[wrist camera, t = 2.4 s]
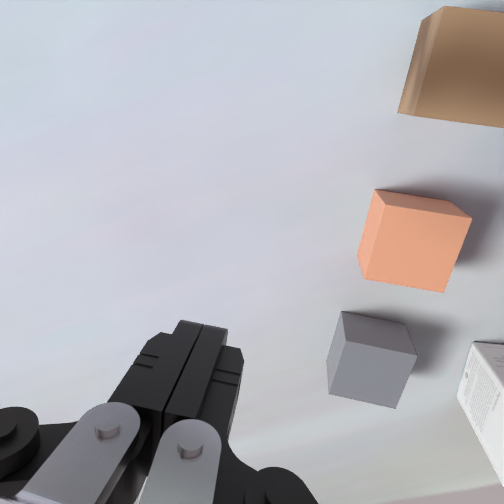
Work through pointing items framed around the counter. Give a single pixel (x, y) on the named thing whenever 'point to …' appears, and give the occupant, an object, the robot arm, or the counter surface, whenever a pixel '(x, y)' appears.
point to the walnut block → (458, 68)
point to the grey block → (370, 360)
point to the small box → (486, 399)
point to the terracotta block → (411, 240)
